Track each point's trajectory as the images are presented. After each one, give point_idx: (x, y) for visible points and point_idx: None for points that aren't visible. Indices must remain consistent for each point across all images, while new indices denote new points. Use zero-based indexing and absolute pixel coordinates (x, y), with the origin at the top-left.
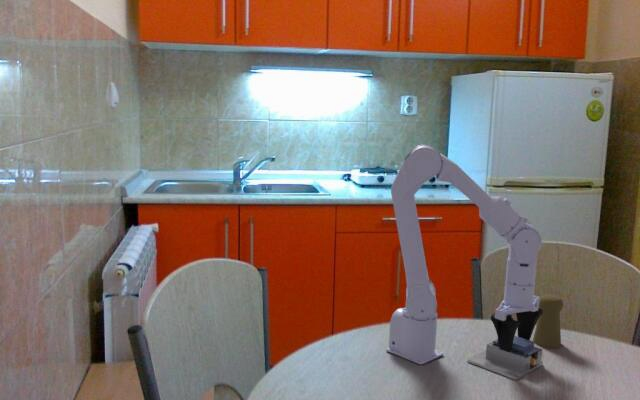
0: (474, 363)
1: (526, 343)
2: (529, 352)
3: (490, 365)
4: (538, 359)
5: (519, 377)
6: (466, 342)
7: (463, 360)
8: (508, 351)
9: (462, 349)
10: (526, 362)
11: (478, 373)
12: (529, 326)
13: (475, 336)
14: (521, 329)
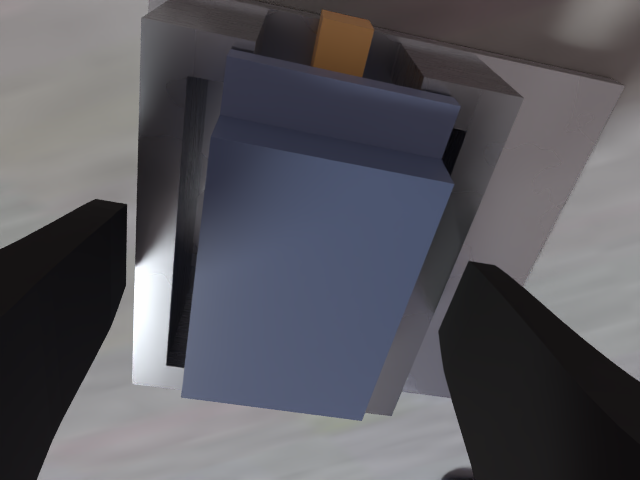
0: None
1: (327, 195)
2: (433, 104)
3: None
4: (237, 16)
5: (566, 70)
6: (191, 460)
7: (447, 403)
8: (501, 271)
9: (301, 446)
10: (490, 80)
11: (594, 299)
12: (38, 322)
13: (67, 458)
14: (79, 350)
